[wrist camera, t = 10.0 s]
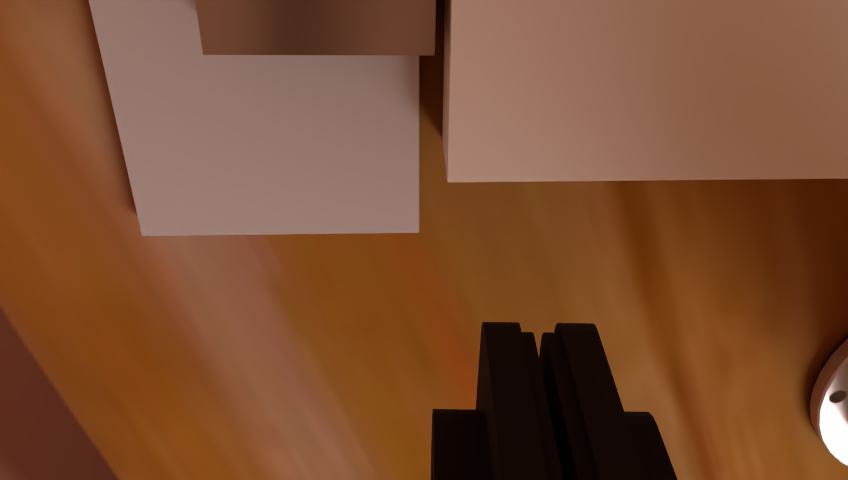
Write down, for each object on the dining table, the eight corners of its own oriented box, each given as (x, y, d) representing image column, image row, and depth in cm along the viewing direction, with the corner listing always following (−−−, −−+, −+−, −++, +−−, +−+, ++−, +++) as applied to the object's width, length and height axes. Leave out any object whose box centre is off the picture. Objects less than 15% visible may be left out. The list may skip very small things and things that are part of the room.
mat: (418, -262, 24) (419, -264, 23) (418, 221, 33) (418, 232, 33) (41, -265, 24) (28, -266, 23) (148, 224, 33) (141, 235, 32)
